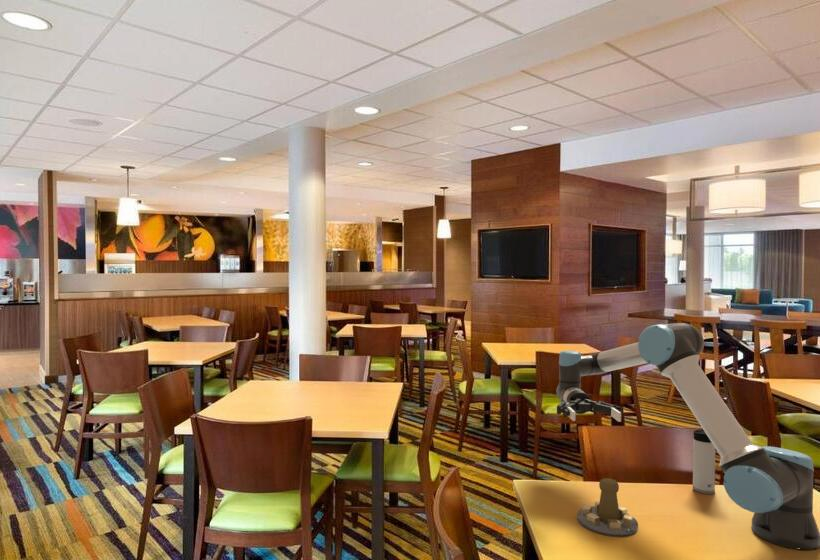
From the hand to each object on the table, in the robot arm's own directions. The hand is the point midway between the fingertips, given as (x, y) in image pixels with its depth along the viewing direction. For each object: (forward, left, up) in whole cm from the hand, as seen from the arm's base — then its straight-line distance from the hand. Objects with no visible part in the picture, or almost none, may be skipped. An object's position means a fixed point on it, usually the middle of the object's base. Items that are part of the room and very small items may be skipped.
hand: (597, 416), depth 155 cm
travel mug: (-27, -33, -28) cm, 50 cm away
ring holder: (-5, +9, -27) cm, 29 cm away
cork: (-5, +8, -27) cm, 28 cm away
